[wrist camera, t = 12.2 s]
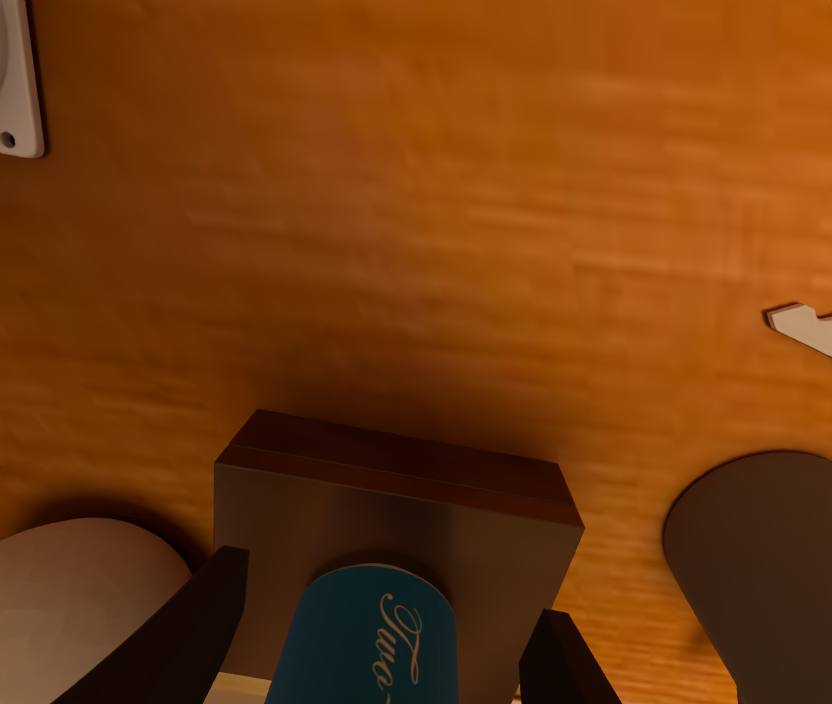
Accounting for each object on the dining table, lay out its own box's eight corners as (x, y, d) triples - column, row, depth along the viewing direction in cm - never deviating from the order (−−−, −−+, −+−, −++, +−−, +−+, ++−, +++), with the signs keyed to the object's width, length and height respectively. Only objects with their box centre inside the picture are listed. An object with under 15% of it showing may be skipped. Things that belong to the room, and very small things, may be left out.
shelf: (248, 595, 24) (212, 671, 20) (256, 408, 19) (212, 462, 16) (494, 637, 24) (504, 720, 20) (558, 463, 20) (586, 528, 16)
